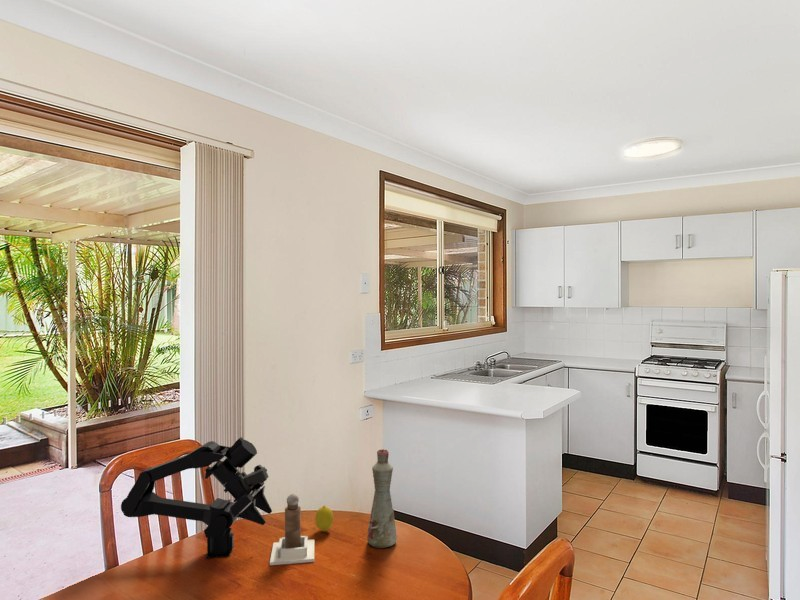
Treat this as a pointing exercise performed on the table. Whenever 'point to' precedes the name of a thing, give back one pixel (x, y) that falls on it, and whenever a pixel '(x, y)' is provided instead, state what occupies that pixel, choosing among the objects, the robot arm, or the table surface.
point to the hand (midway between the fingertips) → (267, 518)
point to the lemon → (324, 518)
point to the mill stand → (292, 552)
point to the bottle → (382, 505)
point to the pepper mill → (292, 522)
